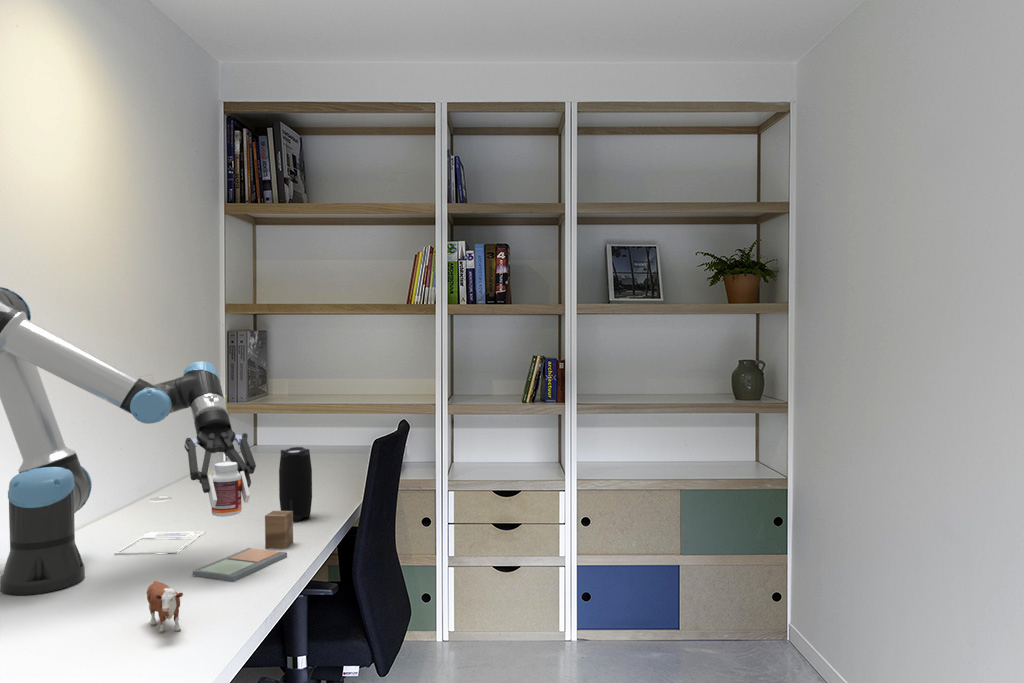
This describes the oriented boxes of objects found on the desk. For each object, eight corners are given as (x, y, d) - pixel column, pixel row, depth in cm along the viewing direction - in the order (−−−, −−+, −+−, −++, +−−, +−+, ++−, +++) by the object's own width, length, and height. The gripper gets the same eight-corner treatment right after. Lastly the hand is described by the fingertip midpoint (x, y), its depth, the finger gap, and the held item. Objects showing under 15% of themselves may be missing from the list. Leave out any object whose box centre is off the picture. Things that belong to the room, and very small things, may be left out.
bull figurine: (160, 643, 128) (159, 596, 128) (144, 619, 139) (143, 575, 139) (187, 637, 131) (186, 590, 131) (170, 613, 142) (169, 570, 141)
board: (233, 581, 159) (233, 575, 159) (192, 575, 163) (192, 570, 163) (287, 556, 176) (286, 551, 176) (248, 552, 180) (248, 547, 180)
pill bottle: (244, 514, 165) (244, 464, 164) (215, 518, 161) (214, 467, 161) (237, 508, 170) (237, 460, 169) (208, 512, 166) (208, 463, 166)
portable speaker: (292, 513, 217) (292, 445, 216) (319, 516, 213) (318, 447, 213) (272, 520, 209) (271, 450, 209) (299, 524, 205) (298, 452, 205)
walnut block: (285, 548, 183) (284, 516, 182) (265, 548, 183) (264, 515, 183) (293, 542, 188) (292, 510, 187) (273, 542, 188) (273, 510, 188)
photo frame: (205, 530, 197) (176, 551, 179) (205, 534, 197) (176, 555, 179) (148, 531, 197) (114, 552, 179) (148, 535, 197) (114, 556, 179)
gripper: (168, 410, 168) (186, 497, 155) (256, 405, 179) (279, 485, 166) (164, 431, 172) (180, 517, 159) (249, 425, 183) (271, 504, 170)
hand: (230, 501), depth 162 cm, fingers closed on pill bottle, 6 cm apart
